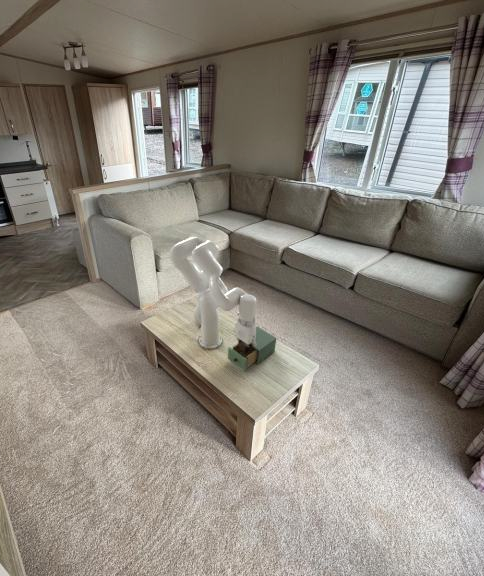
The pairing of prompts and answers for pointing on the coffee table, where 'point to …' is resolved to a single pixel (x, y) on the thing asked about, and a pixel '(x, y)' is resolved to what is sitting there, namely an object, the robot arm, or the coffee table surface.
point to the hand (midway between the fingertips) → (244, 348)
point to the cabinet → (264, 344)
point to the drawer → (242, 357)
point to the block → (242, 346)
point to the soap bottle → (197, 310)
